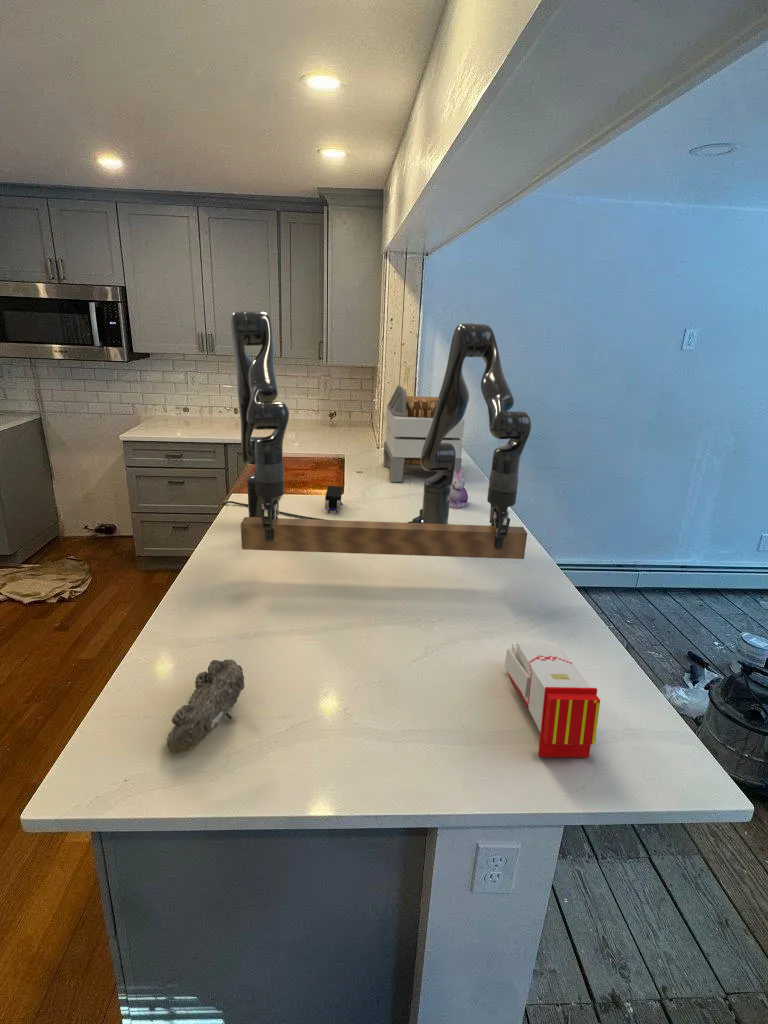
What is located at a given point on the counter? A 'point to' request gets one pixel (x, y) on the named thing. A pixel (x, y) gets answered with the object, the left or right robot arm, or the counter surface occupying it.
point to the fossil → (206, 705)
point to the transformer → (413, 432)
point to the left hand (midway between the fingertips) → (271, 536)
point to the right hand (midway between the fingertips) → (496, 544)
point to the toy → (555, 698)
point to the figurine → (458, 491)
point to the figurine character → (333, 498)
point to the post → (383, 538)
